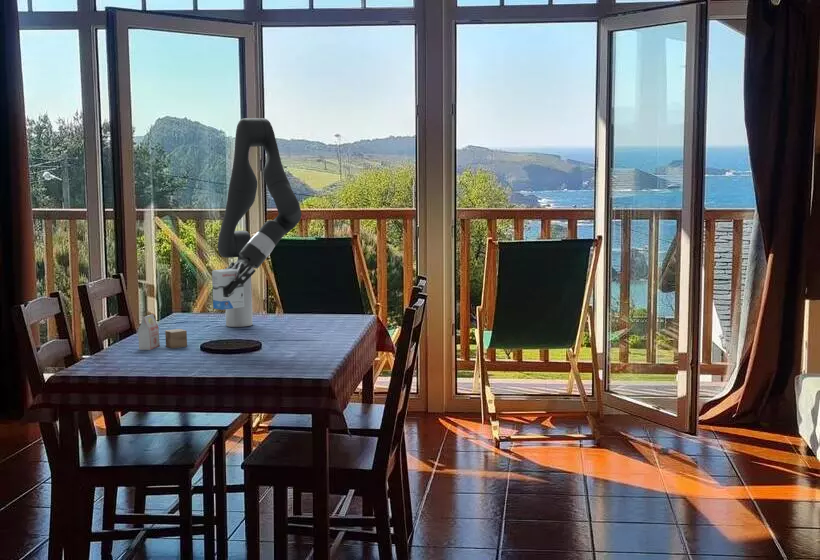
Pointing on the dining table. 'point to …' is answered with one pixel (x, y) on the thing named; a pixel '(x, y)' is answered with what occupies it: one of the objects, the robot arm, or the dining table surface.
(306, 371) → the dining table surface
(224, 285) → the ink box
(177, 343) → the walnut cube
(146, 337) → the white carton
